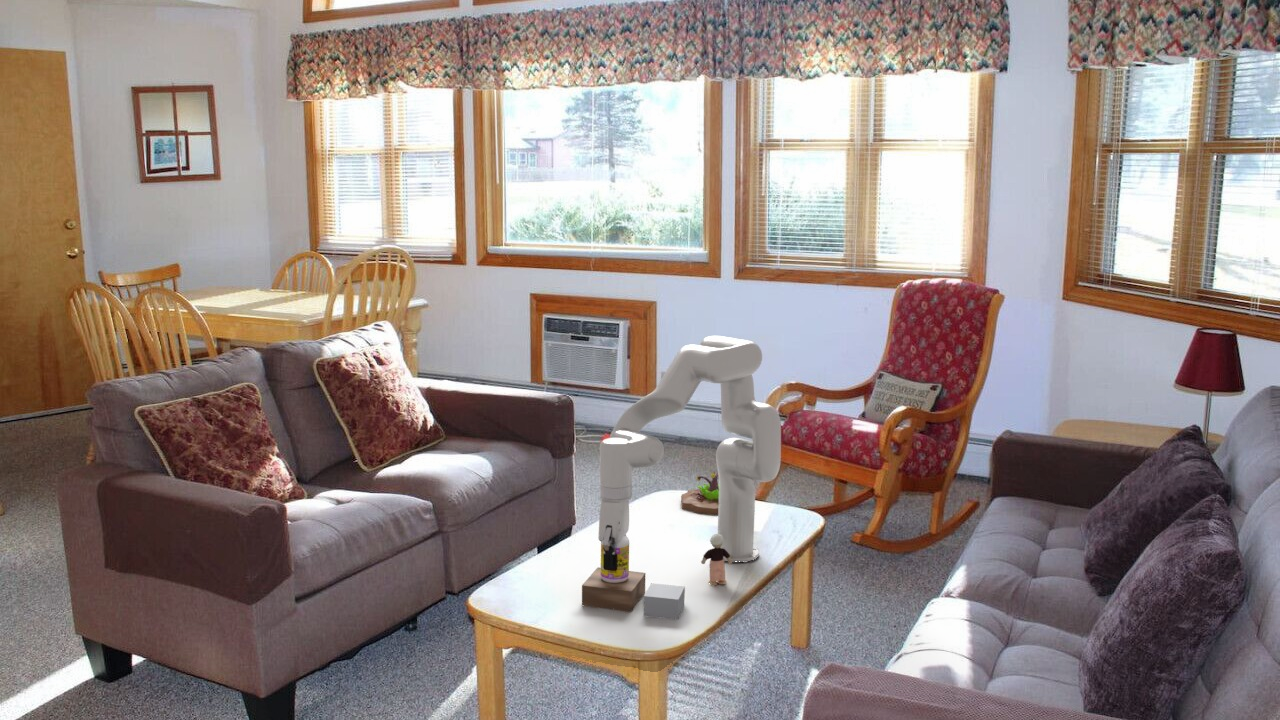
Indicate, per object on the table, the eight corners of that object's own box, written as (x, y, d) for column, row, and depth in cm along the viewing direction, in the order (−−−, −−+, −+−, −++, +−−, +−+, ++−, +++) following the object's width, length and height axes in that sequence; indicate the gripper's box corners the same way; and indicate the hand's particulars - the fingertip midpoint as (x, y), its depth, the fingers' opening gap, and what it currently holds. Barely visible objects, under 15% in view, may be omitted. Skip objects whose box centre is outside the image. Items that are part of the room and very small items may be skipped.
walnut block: (597, 586, 258) (597, 567, 257) (645, 592, 255) (645, 572, 254) (581, 605, 247) (581, 585, 246) (631, 612, 244) (631, 591, 243)
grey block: (650, 603, 249) (651, 583, 248) (684, 606, 248) (684, 586, 247) (643, 616, 242) (643, 596, 241) (678, 620, 240) (678, 599, 239)
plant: (674, 512, 317) (675, 476, 315) (685, 494, 336) (686, 459, 334) (741, 518, 313) (742, 481, 311) (748, 498, 332) (750, 464, 330)
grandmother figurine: (726, 578, 265) (727, 530, 262) (733, 584, 261) (734, 534, 259) (698, 582, 262) (699, 533, 260) (704, 588, 258) (705, 538, 256)
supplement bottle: (604, 585, 246) (604, 532, 244) (597, 574, 252) (597, 523, 250) (632, 582, 248) (632, 530, 246) (624, 572, 254) (625, 521, 252)
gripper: (611, 479, 256) (610, 550, 259) (588, 500, 239) (588, 575, 242) (641, 482, 254) (640, 553, 257) (620, 503, 237) (619, 579, 240)
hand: (615, 563), depth 249 cm, fingers closed on supplement bottle, 6 cm apart
